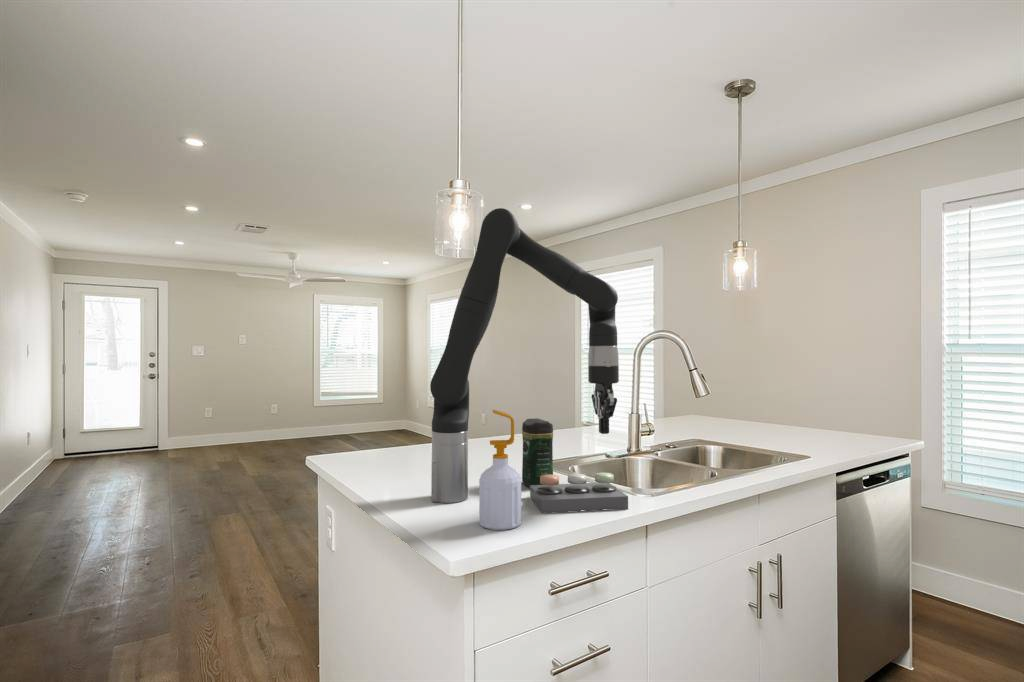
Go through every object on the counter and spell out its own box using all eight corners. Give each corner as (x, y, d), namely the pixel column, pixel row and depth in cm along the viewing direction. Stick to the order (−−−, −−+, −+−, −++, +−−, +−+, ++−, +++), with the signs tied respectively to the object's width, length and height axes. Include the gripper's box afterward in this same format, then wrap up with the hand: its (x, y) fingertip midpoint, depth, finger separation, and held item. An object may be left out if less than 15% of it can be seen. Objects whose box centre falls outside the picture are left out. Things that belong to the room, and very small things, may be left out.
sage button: (598, 483, 129) (598, 477, 129) (592, 479, 133) (592, 472, 133) (616, 482, 130) (616, 476, 130) (609, 478, 134) (609, 472, 134)
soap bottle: (478, 518, 118) (479, 408, 119) (519, 517, 119) (519, 408, 120) (479, 531, 109) (480, 412, 110) (523, 530, 110) (523, 412, 111)
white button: (570, 484, 128) (570, 478, 128) (565, 480, 132) (565, 473, 132) (588, 483, 128) (588, 477, 128) (583, 479, 133) (583, 473, 133)
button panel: (541, 513, 122) (541, 498, 122) (530, 497, 135) (530, 483, 136) (628, 509, 125) (628, 494, 125) (608, 493, 139) (608, 480, 139)
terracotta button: (542, 485, 127) (542, 479, 127) (538, 481, 131) (538, 474, 131) (561, 485, 127) (560, 478, 127) (556, 480, 132) (556, 474, 132)
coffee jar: (557, 488, 145) (557, 420, 145) (530, 490, 142) (530, 421, 143) (544, 480, 154) (544, 416, 154) (518, 482, 151) (518, 417, 152)
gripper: (581, 363, 138) (581, 430, 138) (597, 364, 125) (598, 438, 125) (608, 363, 139) (609, 429, 139) (627, 364, 126) (628, 437, 126)
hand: (604, 433), depth 132 cm, fingers closed
